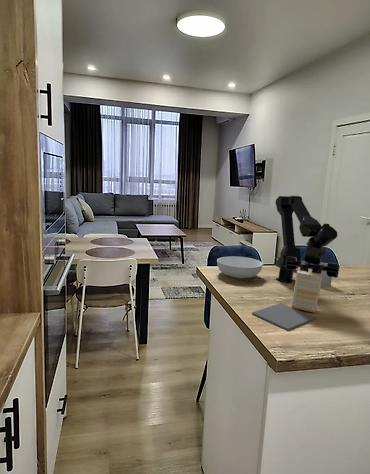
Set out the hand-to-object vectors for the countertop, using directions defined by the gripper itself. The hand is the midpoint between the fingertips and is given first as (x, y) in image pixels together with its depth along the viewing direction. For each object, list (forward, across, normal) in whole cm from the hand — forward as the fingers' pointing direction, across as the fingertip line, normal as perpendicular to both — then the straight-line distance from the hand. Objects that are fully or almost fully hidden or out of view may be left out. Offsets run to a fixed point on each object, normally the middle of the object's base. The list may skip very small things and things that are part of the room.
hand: (307, 286), depth 119 cm
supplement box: (+8, 0, +3) cm, 8 cm away
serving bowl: (-11, -32, +22) cm, 40 cm away
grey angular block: (-18, +4, +29) cm, 34 cm away
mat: (+15, -5, -4) cm, 16 cm away
